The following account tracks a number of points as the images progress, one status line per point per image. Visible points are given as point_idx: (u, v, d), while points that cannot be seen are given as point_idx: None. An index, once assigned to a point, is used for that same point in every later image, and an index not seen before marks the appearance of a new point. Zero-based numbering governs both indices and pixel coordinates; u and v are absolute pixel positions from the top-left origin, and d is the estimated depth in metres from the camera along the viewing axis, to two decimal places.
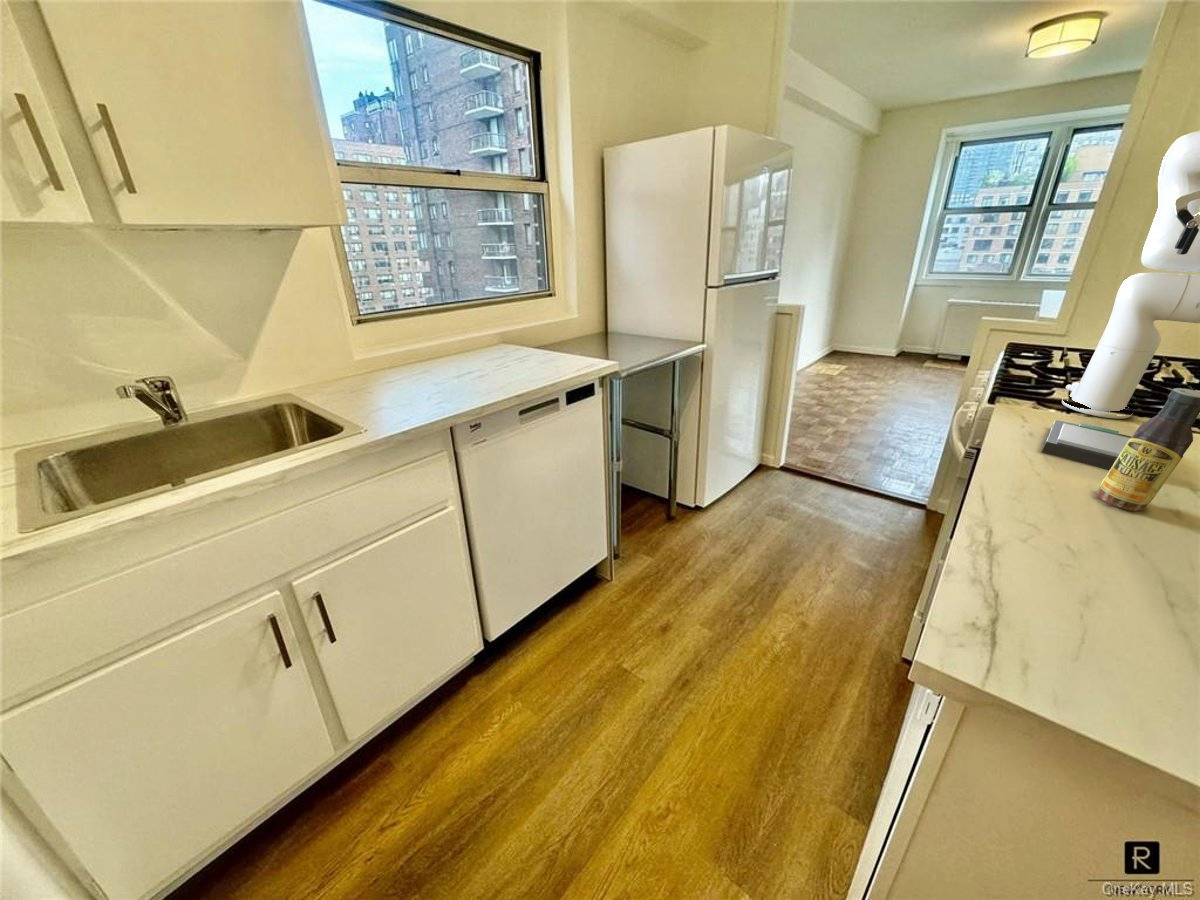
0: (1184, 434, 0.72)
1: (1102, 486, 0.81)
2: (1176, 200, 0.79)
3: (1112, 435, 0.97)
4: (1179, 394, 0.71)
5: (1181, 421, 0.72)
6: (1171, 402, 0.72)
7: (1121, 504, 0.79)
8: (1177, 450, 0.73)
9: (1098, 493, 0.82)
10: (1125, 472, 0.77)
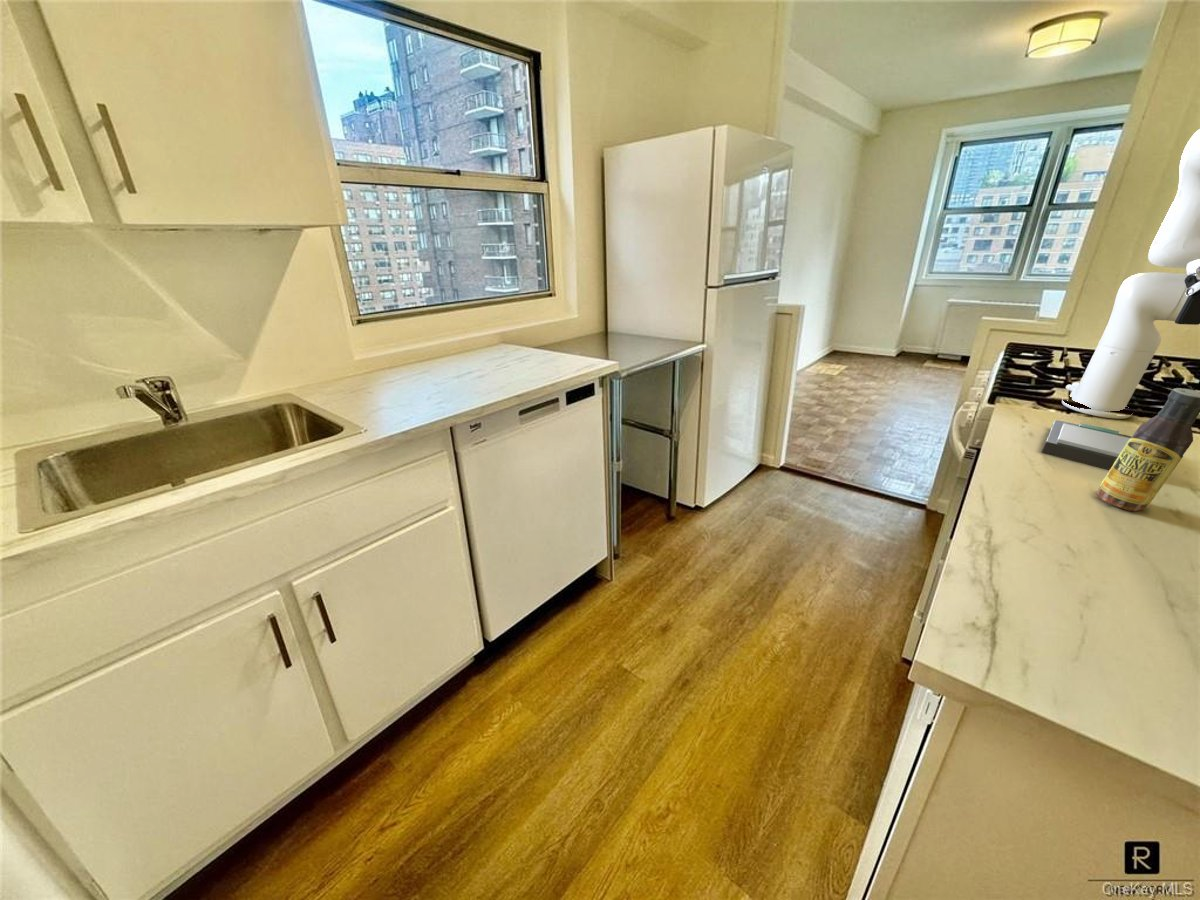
0: (1184, 434, 0.72)
1: (1102, 486, 0.81)
2: (1187, 265, 0.72)
3: (1112, 435, 0.97)
4: (1179, 394, 0.71)
5: (1181, 421, 0.72)
6: (1171, 402, 0.72)
7: (1121, 504, 0.79)
8: (1177, 450, 0.73)
9: (1098, 493, 0.82)
10: (1125, 472, 0.77)
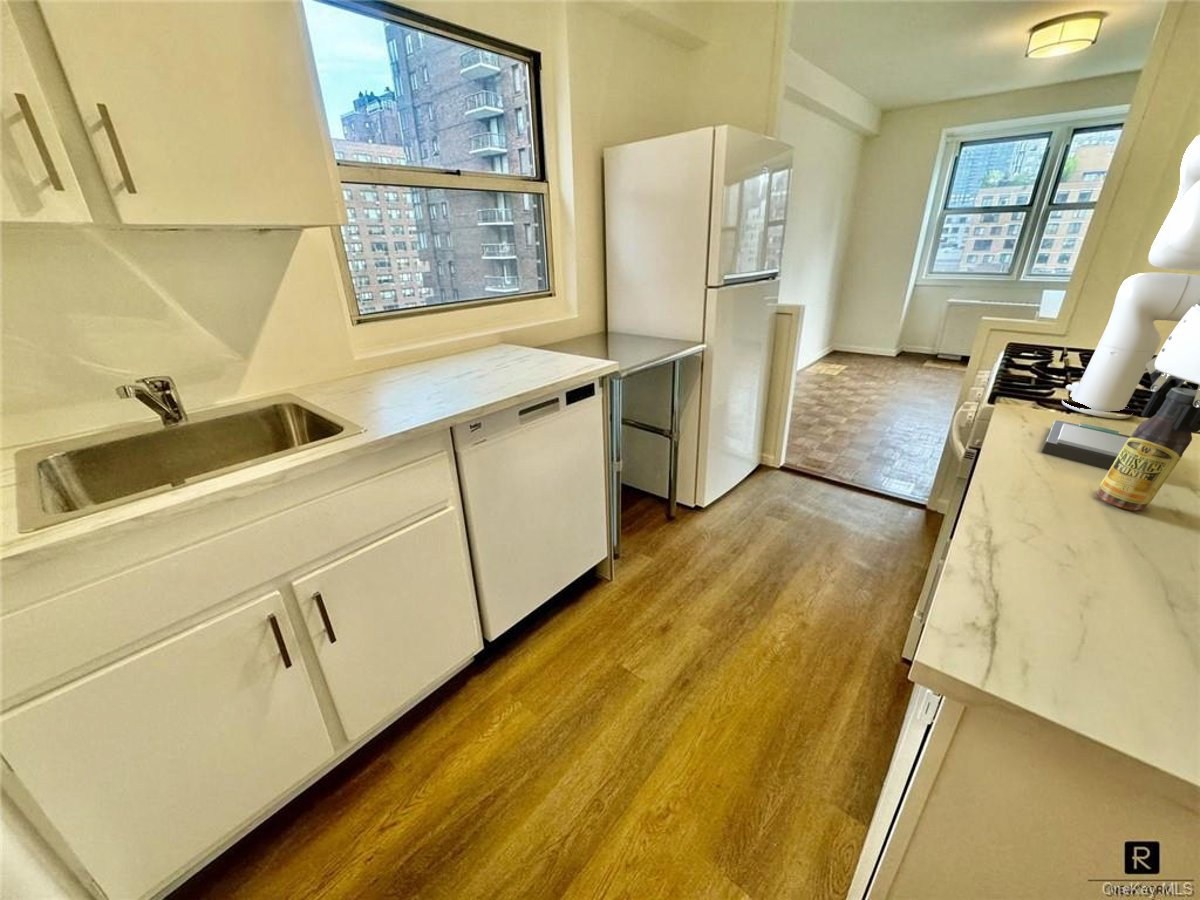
0: (1183, 433, 0.72)
1: (1102, 486, 0.81)
2: (1146, 365, 0.77)
3: (1112, 435, 0.97)
4: (1177, 393, 0.72)
5: None
6: (1169, 401, 0.73)
7: (1121, 504, 0.79)
8: (1176, 450, 0.73)
9: (1098, 493, 0.82)
10: (1124, 471, 0.77)
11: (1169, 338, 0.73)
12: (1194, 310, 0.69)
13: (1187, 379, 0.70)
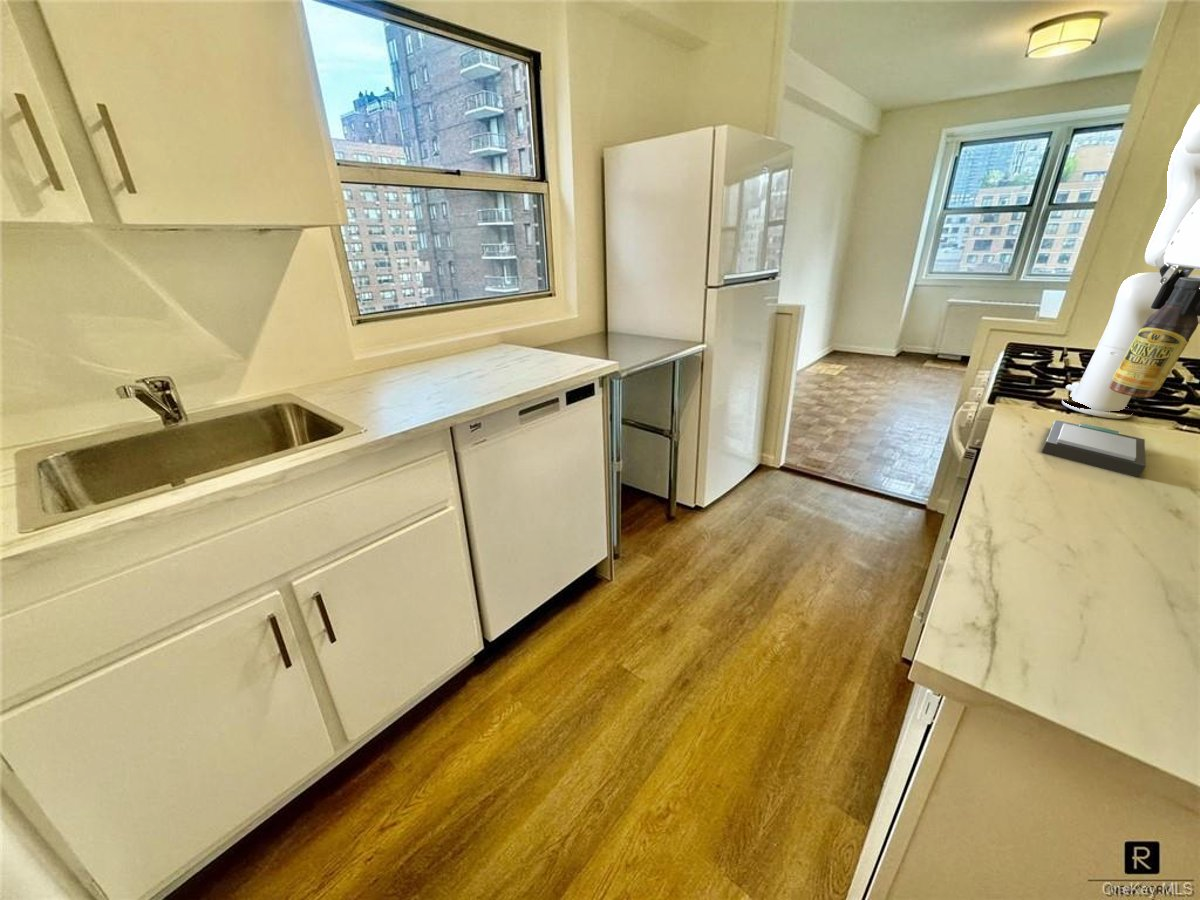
0: (1190, 318, 0.79)
1: (1114, 378, 0.88)
2: (1156, 261, 0.84)
3: (1112, 435, 0.97)
4: (1184, 281, 0.78)
5: None
6: (1177, 289, 0.79)
7: (1132, 392, 0.85)
8: (1183, 334, 0.79)
9: (1110, 385, 0.89)
10: (1135, 360, 0.84)
11: (1177, 231, 0.79)
12: None
13: (1194, 266, 0.77)
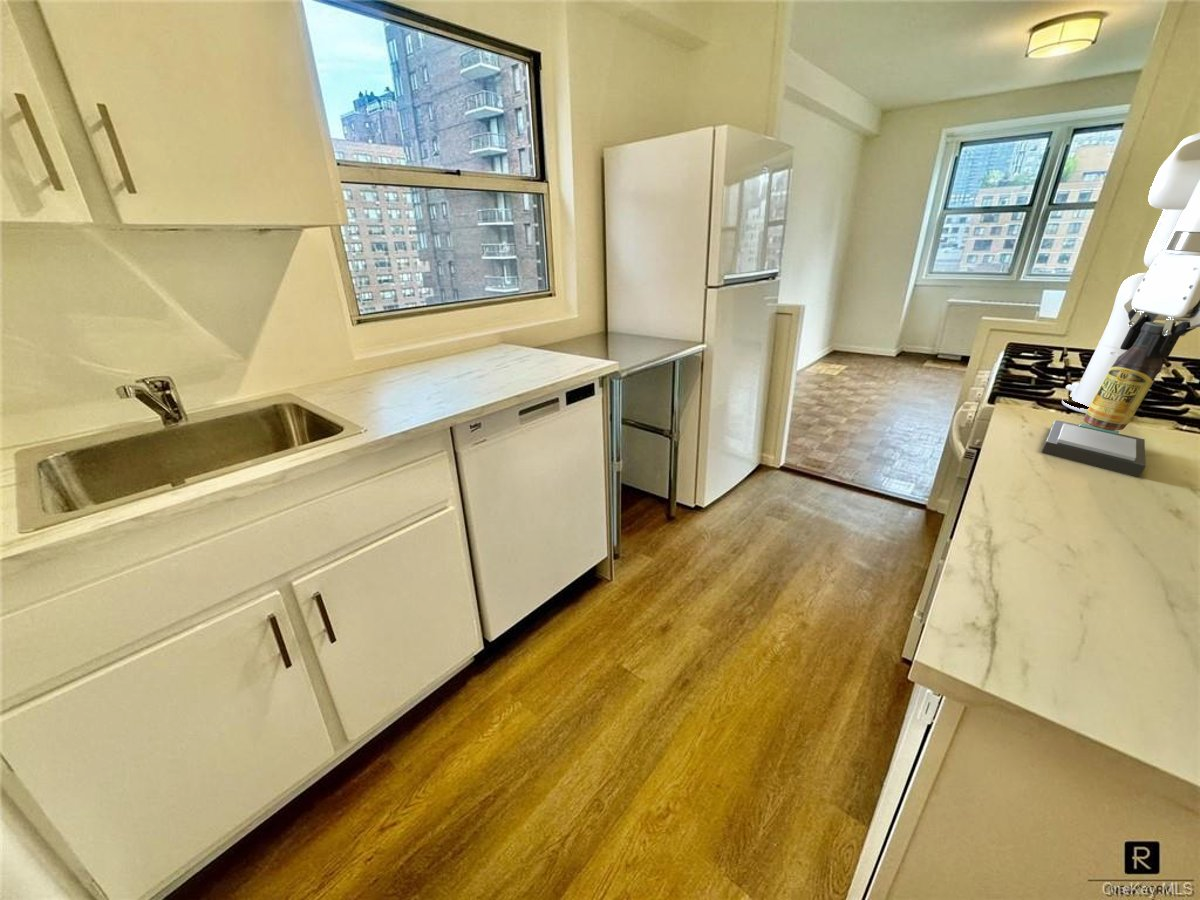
0: (1155, 359, 0.86)
1: (1088, 411, 0.94)
2: (1125, 306, 0.90)
3: (1112, 435, 0.97)
4: (1149, 325, 0.85)
5: None
6: (1143, 333, 0.86)
7: (1104, 425, 0.92)
8: (1149, 374, 0.86)
9: (1084, 418, 0.95)
10: (1106, 396, 0.91)
11: (1143, 280, 0.86)
12: (1163, 254, 0.83)
13: (1157, 312, 0.84)
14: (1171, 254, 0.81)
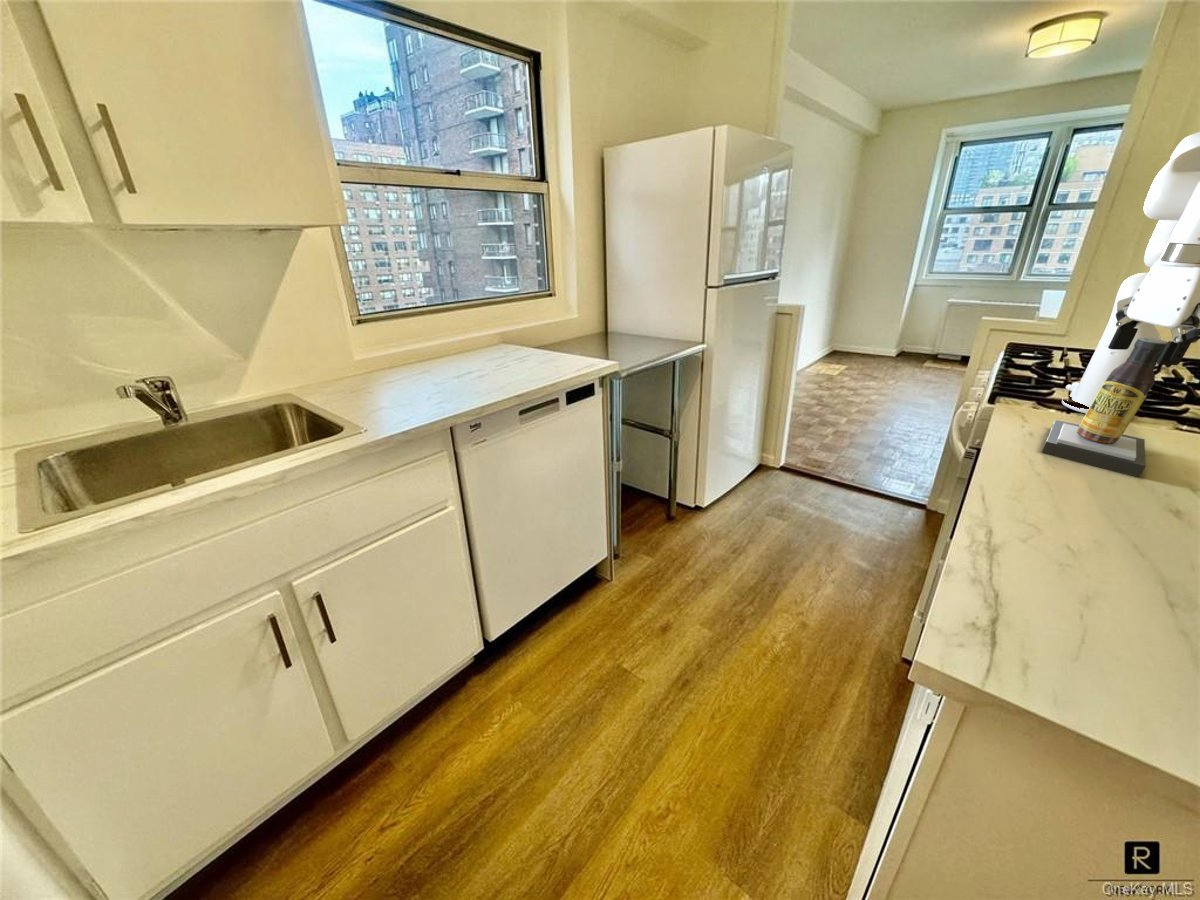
0: (1147, 375, 0.87)
1: (1081, 424, 0.96)
2: (1118, 302, 0.92)
3: None
4: (1142, 341, 0.86)
5: (1145, 364, 0.87)
6: (1136, 349, 0.87)
7: (1097, 438, 0.93)
8: (1141, 389, 0.88)
9: (1078, 431, 0.97)
10: (1099, 410, 0.92)
11: (1138, 290, 0.87)
12: (1157, 265, 0.84)
13: (1152, 323, 0.84)
14: (1165, 265, 0.82)
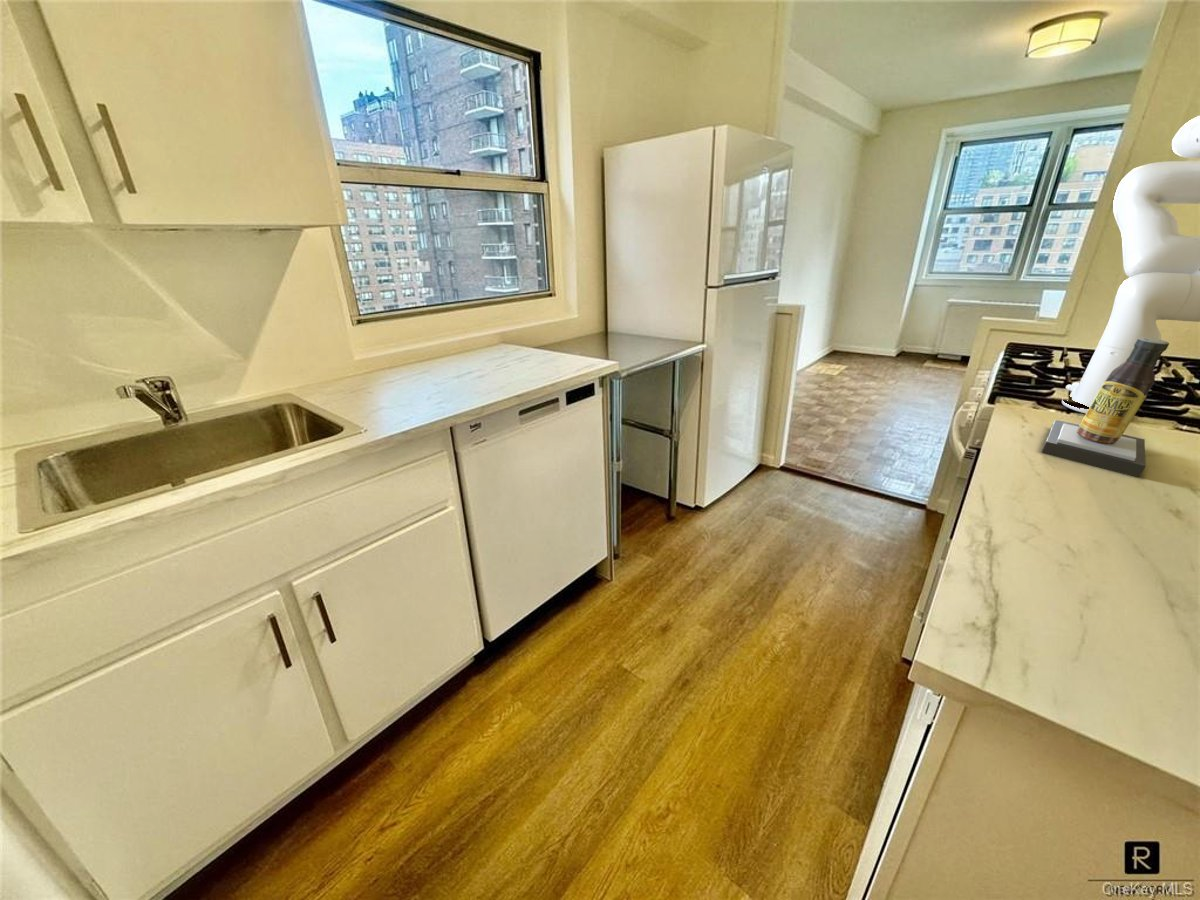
0: (1147, 375, 0.87)
1: (1081, 424, 0.96)
2: None
3: None
4: (1142, 341, 0.86)
5: (1145, 364, 0.87)
6: (1136, 349, 0.87)
7: (1097, 438, 0.93)
8: (1141, 389, 0.88)
9: (1078, 431, 0.97)
10: (1099, 410, 0.92)
11: None
12: None
13: None
14: None
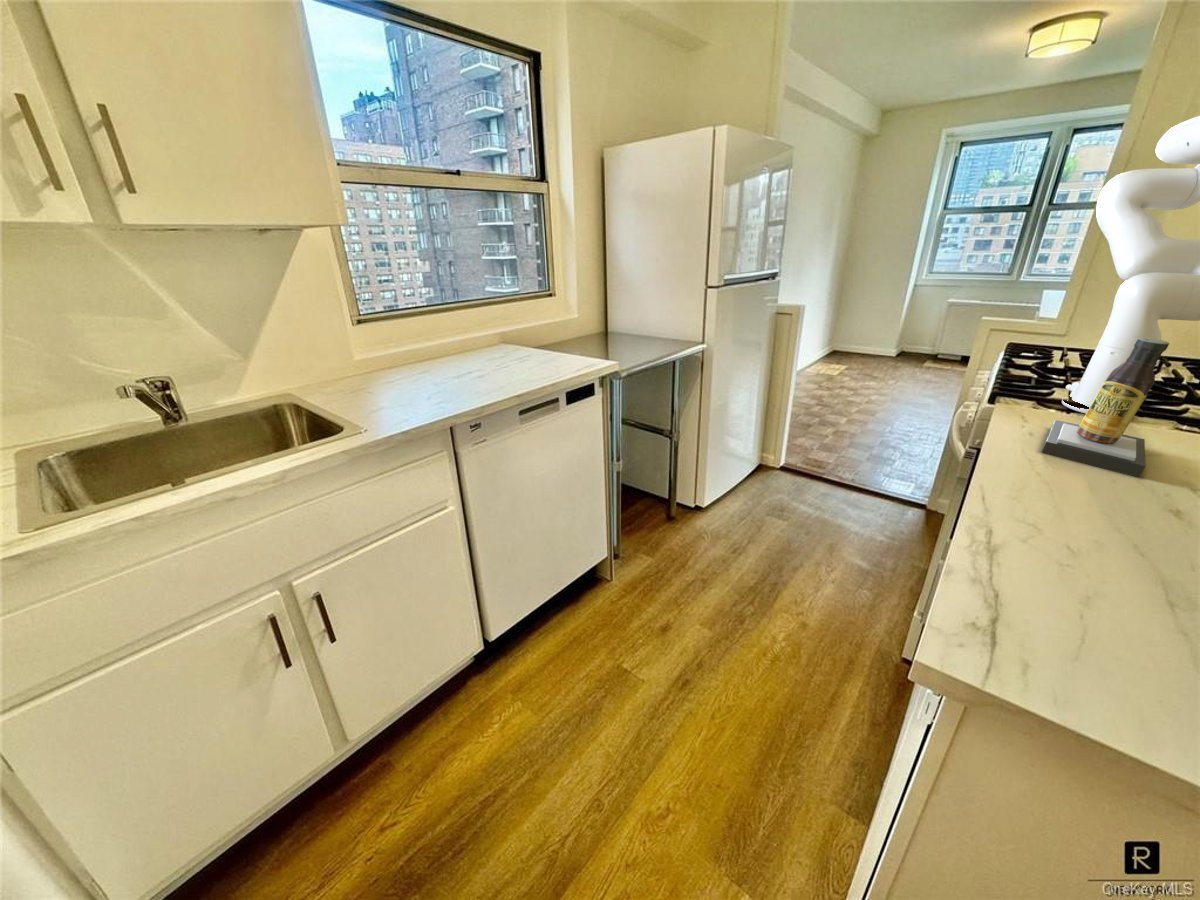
0: (1147, 375, 0.87)
1: (1081, 424, 0.96)
2: None
3: None
4: (1142, 341, 0.86)
5: (1145, 364, 0.87)
6: (1136, 349, 0.87)
7: (1097, 438, 0.93)
8: (1141, 389, 0.88)
9: (1078, 431, 0.97)
10: (1099, 410, 0.92)
11: None
12: None
13: None
14: None
